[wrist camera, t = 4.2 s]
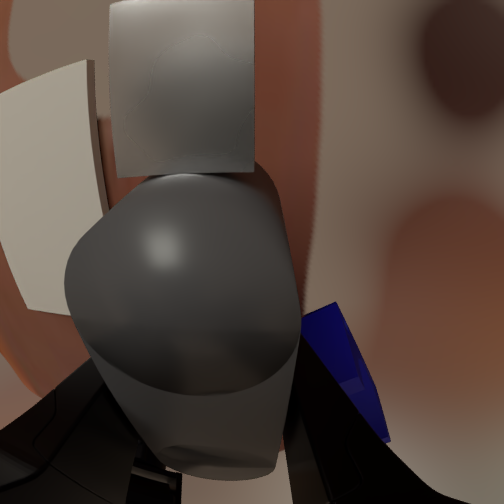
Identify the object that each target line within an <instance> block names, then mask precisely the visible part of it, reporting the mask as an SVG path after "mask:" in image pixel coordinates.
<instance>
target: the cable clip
mask: <svg viewBox="0 0 504 504" xmlns="http://www.w3.org/2000/svg"><path fill="white" fill-rule="evenodd" d="M301 334H302V335H303V337H304V338H305V339H306V341H307V342H308V343H309V345H310V346H311V347H312V349H313V350H314V351H315V353H316V354H317V355H318V357H319V358H320V359H321V361H322V362H323V364H324V365H325V366H326V368H327V369H328V370H329V372H330V373H331V374H332V376H333V377H334V378H335V380H336V381H337V382H338V384H339V385H340V386H341V388H342V389H343V390H344V392H345V393H346V394H347V396H348V397H349V398H350V400H351V401H352V402H353V404H354V405H355V406H356V408H357V409H358V410H359V413H361V414H362V416H363V417H364V418H365V420H366V421H367V422H368V424H369V425H370V426H371V427H372V429H373V430H374V431H375V432H376V434H377V435H378V436H379V437H380V438H381V439H382V441H383V442H384V443H385V444H386V443H388V442H390V441H391V440H390V436H389V432H388V429H387V425H386V421H385V417H384V414H383V410H382V406H381V403H380V399H379V396H378V393H377V389H376V386H375V384H374V381H373V379H372V377H371V375H370V372H369V370H368V368H367V366H366V364H365V361H364V359H363V357H362V355H361V353H360V350H359V348H358V346H357V344H356V342H355V340H354V338H353V336H352V333H351V331H350V329H349V327H348V325H347V323H346V321H345V319H344V317H343V314H342V313H341V310H340V308H339V306H338V304H337V302H333V303H331V304H328V305H326V306H324V307H322V308H319V309H317V310H315V311H312V312H310V313H307V314H305V317H303V318H301Z"/></svg>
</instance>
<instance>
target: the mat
mask: <svg viewBox="0 0 504 504" xmlns="http://www.w3.org/2000/svg"><path fill="white" fill-rule="evenodd" d="M94 78H95V75H94V60H88V59H86V60H83V61H79V62H76V63H73V64H70V65H67V66H64V67H61V68H59V69H56V70H53V71H51V72H48V73H45V74H43V75H40V76H38V77H35V78H33V79H31V80H28V81H26V82H24V83H22V84H19V85H17V86H15V87H13V88H11V89H9V90H7V91H5V92H3V93H1V94H0V241H1V244H2V247H3V250H4V253H5V256H6V258H7V261H8V264H9V266H10V269H11V271H12V274H13V276H14V279H15V281H16V283H17V286H18V288H19V290H20V293H21V295H22V297H23V299H24V301H25V303H26V306H27V308H28V309H32V310H38V311H44V312H50V313H57V314H64V315H71V314H70V312H69V309H68V306H67V302H66V298H65V290H64V276H65V269H66V265H67V261H68V258H69V256H70V254H71V252H72V249H73V248H74V247H75V245H76V244H77V242H78V241H79V239H80V238H81V237H82V236H83V235H84V234H85V233H86V232H87V231H88V230H89V229H90V228H91V227H92V226H93V225H94V224H96V223H97V222H98V221H99V220H100V219H101V218H102V217H103V216H104V215H105V214H106V213H107V212H108V211H109V207H108V201H107V195H106V189H105V183H104V177H103V170H102V163H101V155H100V146H99V137H98V127H97V115H96V100H95V79H94Z"/></svg>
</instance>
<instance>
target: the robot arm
mask: <svg viewBox="0 0 504 504" xmlns="http://www.w3.org/2000/svg"><path fill="white" fill-rule="evenodd" d="M283 440H284V446H285V452H286V460H287V467H288V473H289V479H290V487H291V493H292V500H293V504H469V503H466V502H463V501H460V500H457V499H454V498H451V497H448V496H445V495H443V494H440V493H438V492H437V491H435V490H433V489H432V488H431V487H429V486H428V485H427V484H426V483H424V482H423V481H422V480H421V479H420V478H419V477H418V476H417V475H416V474H415V473H414V472H413V471H412V470H411V469H410V468H409V467H408V466H407V465H406V464H405V463H404V462H403V461H402V460H401V459H400V458H399V457H398V456H397V455H396V454H395V453H394V452H393V451H392V450H391V449H390V448H389V447H388V446H387V445H386V444H385V443H384V442H383V441H382V439H381V438H380V437H379V436H378V435H377V434H376V432H375V431H374V430H373V429H372V427H371V426H370V425H369V424H368V422H367V421H366V420H365V418H364V417H363V416H362V414H361V413H359V410H358V409H357V408H356V406H355V405H354V404H353V402H352V401H351V400H350V398H349V397H348V396H347V394H346V393H345V392H344V390H343V389H342V388H341V386H340V385H339V384H338V382H337V381H336V380H335V378H334V377H333V376H332V374H331V373H330V372H329V370H328V369H327V368H326V366H325V365H324V364H323V362H322V361H321V359H320V358H319V357H318V355H317V354H316V353H315V351H314V350H313V349H312V347H311V346H310V345H309V343H308V342H307V341H306V339H305V338H304V337H303V335H302V334H301V333H300V339H299V346H298V352H297V358H296V364H295V370H294V376H293V382H292V387H291V393H290V398H289V404H288V409H287V414H286V419H285V424H284V429H283ZM165 469H166V465H164V464H163V463H162V462H160V461H159V460H158V458H157V457H156V456H155V455H154V453H153V452H152V451H151V449H150V448H149V447H148V446H147V444H146V443H145V442H144V440H143V439H142V438H141V436H140V435H139V433H138V432H137V431H136V429H135V428H134V426H133V425H132V424H131V422H130V421H129V419H128V418H127V416H126V415H125V413H124V412H123V410H122V409H121V407H120V406H119V404H118V402H117V401H116V399H115V398H114V396H113V394H112V393H111V391H110V390H109V388H108V386H107V385H106V383H105V381H104V379H103V378H102V376H101V374H100V372H99V371H98V369H97V367H96V365H95V363H94V362H93V360H92V358H91V357H90V358H89V359H88V360H87V361H86V362H84V363H83V364H82V365H81V366H80V367H79V368H77V369H76V370H75V371H74V372H73V373H72V374H70V375H69V376H68V377H67V378H66V379H65V380H63V381H62V382H61V383H60V384H59V385H58V386H57V387H56V388H55V389H53V390H52V391H51V392H50V393H48V394H47V395H46V396H45V397H44V398H43V399H42V400H40V401H39V402H38V403H37V404H35V405H34V406H33V407H32V408H30V409H29V410H28V411H26V412H25V413H24V414H23V415H21V416H20V417H18V418H17V419H15V420H14V421H13V422H11V423H10V424H8V425H7V426H6V427H4V428H3V429H1V430H0V504H181V491H182V473H178V472H176V473H175V472H170V471H167V470H165Z"/></svg>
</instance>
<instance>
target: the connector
mask: <svg viewBox="0 0 504 504" xmlns="http://www.w3.org/2000/svg"><path fill="white" fill-rule="evenodd" d="M109 92H110V109H111V124H112V135H113V145H114V154H115V162H116V170H117V177H118V178H123V177H136V176H149V177H147V178H146V179H145V180H144V181H142V182H141V183H140V184H139V185H138V186H137V187H135V188H134V189H133V190H132V191H131V192H130V193H128V194H127V195H126V196H125V197H124V198H123V199H122V200H120V201H119V202H118V203H117V204H116V205H115V206H114V207H113V208H112V209H110V210H109V211H108V212H107V213H106V214H105V215H104V216H103V217H102V218H101V219H100V220H99V221H98V222H97V223H96V224H94V225H93V226H92V227H91V228H90V229H89V230H88V231H87V232H86V233H85V234H84V235H83V236H82V237H81V238H80V239H79V241H78V242H77V244H76V245H75V247H74V248H73V249H72V252H71V254H70V256H69V258H68V261H67V265H66V269H65V276H64V290H65V298H66V302H67V306H68V309H69V312H70V314H71V317H72V319H73V321H74V324H75V326H76V328H77V330H78V332H79V334H80V336H81V338H82V340H83V342H84V344H85V346H86V348H87V350H88V352H89V354H90V356H91V358H92V360H93V362H94V363H95V365H96V367H97V369H98V371H99V372H100V374H101V376H102V378H103V379H104V381H105V383H106V385H107V386H108V388H109V390H110V391H111V393H112V394H113V396H114V398H115V399H116V401H117V402H118V404H119V406H120V407H121V409H122V410H123V412H124V413H125V415H126V416H127V418H128V419H129V421H130V422H131V424H132V425H133V426H134V428H135V429H136V431H137V432H138V433H139V435H140V436H141V438H142V439H143V440H144V442H145V443H146V444H147V446H148V447H149V448H150V449H151V451H152V452H153V453H154V455H155V456H156V457H157V458H158V460H159V461H160V462H162V463H163V464H164V465H166V466H168V467H169V468H171V469H174V470H176V471H179V472H181V473H185V474H187V475H191V476H195V477H200V478H205V479H212V480H225V481H237V480H249V479H255V478H259V477H263V476H266V475H268V474H270V473H271V472H273V470H274V469H275V466H276V462H277V457H278V453H279V448H280V443H281V439H282V434H283V429H284V424H285V419H286V414H287V409H288V404H289V398H290V393H291V387H292V382H293V376H294V370H295V364H296V358H297V352H298V346H299V339H300V333H301V312H300V304H299V298H298V293H297V287H296V281H295V276H294V270H293V265H292V259H291V254H290V248H289V243H288V238H287V233H286V227H285V222H284V217H283V212H282V207H281V202H280V198H279V195H278V191H277V189H276V187H275V185H274V183H273V181H272V179H271V178H270V176H269V175H268V173H267V172H266V171H265V170H264V169H263V168H262V167H261V166H260V165H259V164H258V163H257V162H255V1H254V0H124V1H121V2H117V3H114V4H111V5H110V19H109Z"/></svg>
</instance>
